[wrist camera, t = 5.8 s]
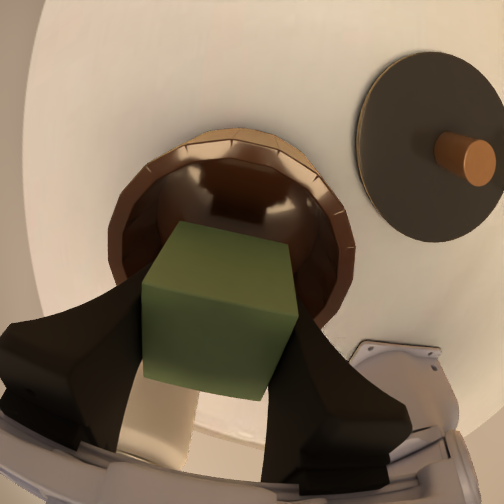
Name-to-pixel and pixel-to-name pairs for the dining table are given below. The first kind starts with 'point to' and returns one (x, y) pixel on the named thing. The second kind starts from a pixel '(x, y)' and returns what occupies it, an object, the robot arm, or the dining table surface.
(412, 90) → the lid
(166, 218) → the pot
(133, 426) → the can
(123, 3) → the dining table surface
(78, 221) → the dining table surface
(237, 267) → the block
